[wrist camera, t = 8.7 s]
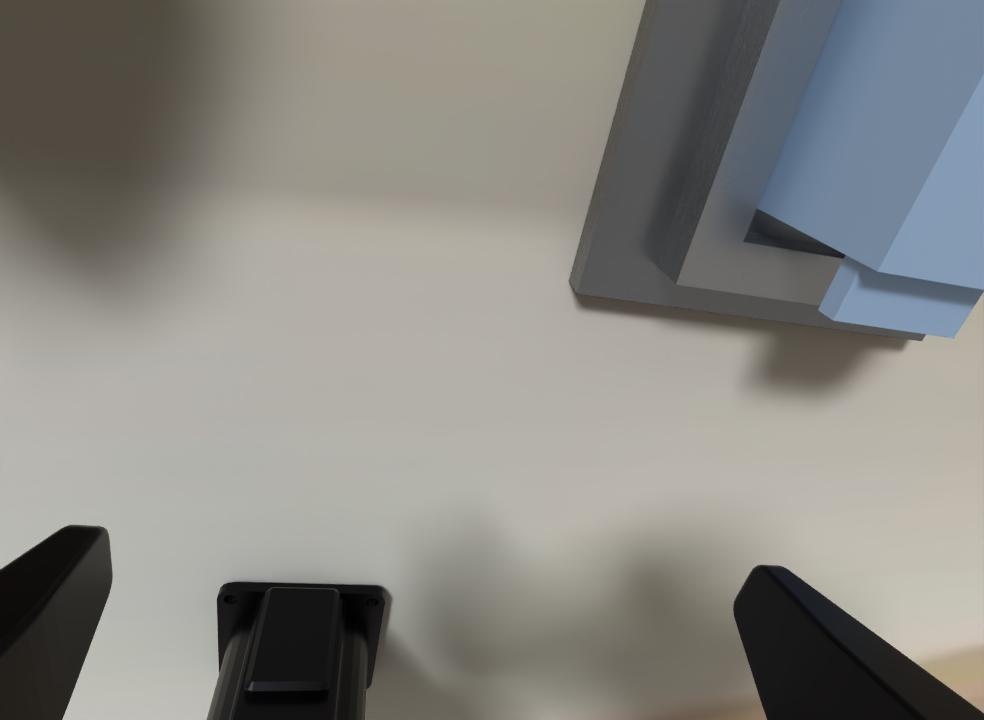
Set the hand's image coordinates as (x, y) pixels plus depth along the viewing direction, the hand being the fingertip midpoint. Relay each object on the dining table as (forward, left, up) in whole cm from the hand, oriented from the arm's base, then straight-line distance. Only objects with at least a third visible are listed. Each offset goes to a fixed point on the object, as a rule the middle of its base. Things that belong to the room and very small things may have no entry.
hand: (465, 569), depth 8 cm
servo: (+7, -11, -11) cm, 17 cm away
